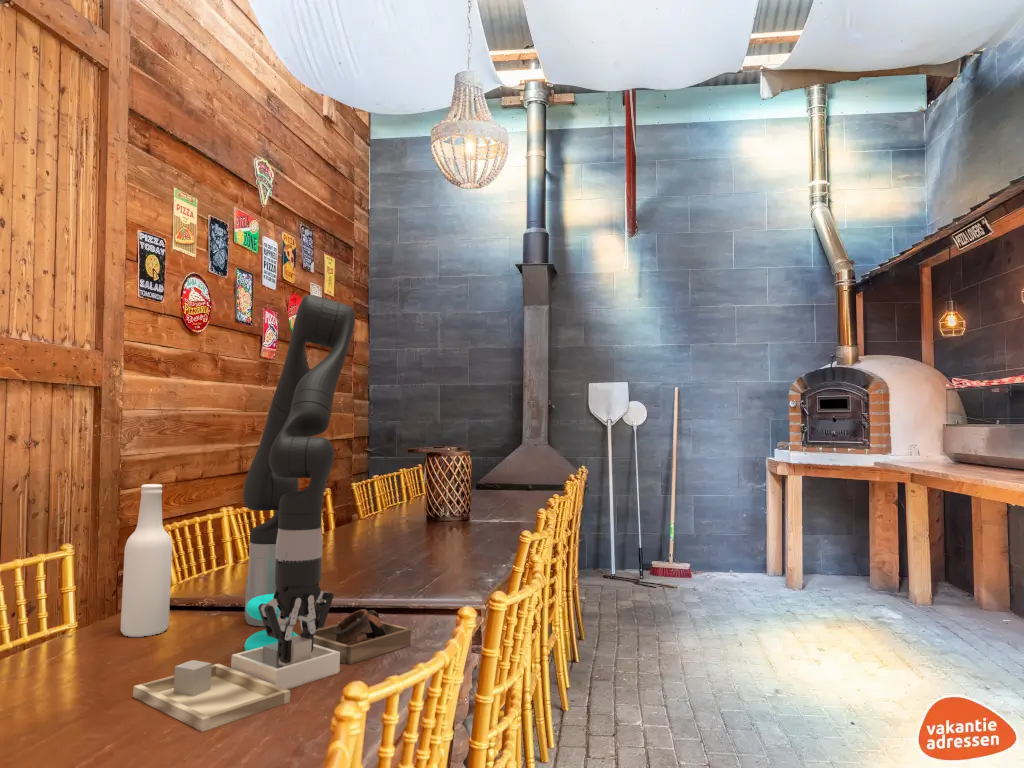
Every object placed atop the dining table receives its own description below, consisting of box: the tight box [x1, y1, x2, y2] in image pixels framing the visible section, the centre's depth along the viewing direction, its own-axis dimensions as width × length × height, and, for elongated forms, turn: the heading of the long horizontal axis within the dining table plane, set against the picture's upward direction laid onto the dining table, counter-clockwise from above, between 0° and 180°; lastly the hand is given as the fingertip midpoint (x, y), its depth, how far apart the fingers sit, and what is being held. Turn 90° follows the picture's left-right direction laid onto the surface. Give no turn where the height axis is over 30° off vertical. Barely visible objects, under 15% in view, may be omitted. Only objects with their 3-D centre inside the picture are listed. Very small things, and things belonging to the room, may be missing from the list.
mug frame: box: [313, 619, 412, 665], centre depth 138 cm, size 14×16×3 cm
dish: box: [230, 644, 341, 690], centre depth 121 cm, size 13×13×4 cm
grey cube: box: [263, 642, 285, 669], centre depth 122 cm, size 4×4×4 cm
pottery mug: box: [334, 608, 386, 645], centre depth 139 cm, size 12×9×8 cm
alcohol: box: [120, 483, 173, 638], centre depth 147 cm, size 9×9×30 cm
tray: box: [132, 663, 291, 733], centre depth 109 cm, size 20×14×2 cm
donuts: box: [244, 594, 298, 651], centre depth 135 cm, size 10×10×10 cm
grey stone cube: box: [174, 659, 213, 696], centre depth 112 cm, size 4×4×4 cm
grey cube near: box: [279, 634, 312, 666], centre depth 120 cm, size 4×4×4 cm
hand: (295, 658), depth 119 cm, fingers closed on grey cube near, 3 cm apart
